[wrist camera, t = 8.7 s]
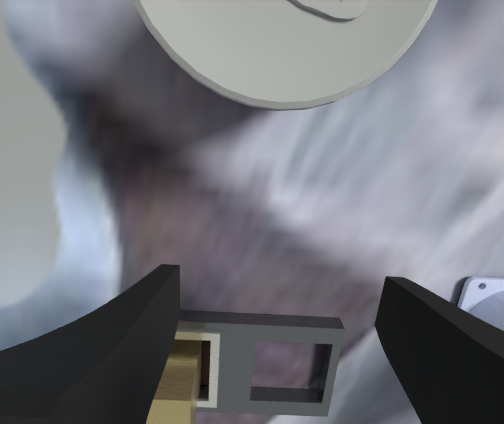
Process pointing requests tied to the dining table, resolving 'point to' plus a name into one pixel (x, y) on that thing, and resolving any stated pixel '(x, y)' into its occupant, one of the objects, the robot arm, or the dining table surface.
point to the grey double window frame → (242, 353)
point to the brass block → (178, 385)
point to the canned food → (285, 45)
